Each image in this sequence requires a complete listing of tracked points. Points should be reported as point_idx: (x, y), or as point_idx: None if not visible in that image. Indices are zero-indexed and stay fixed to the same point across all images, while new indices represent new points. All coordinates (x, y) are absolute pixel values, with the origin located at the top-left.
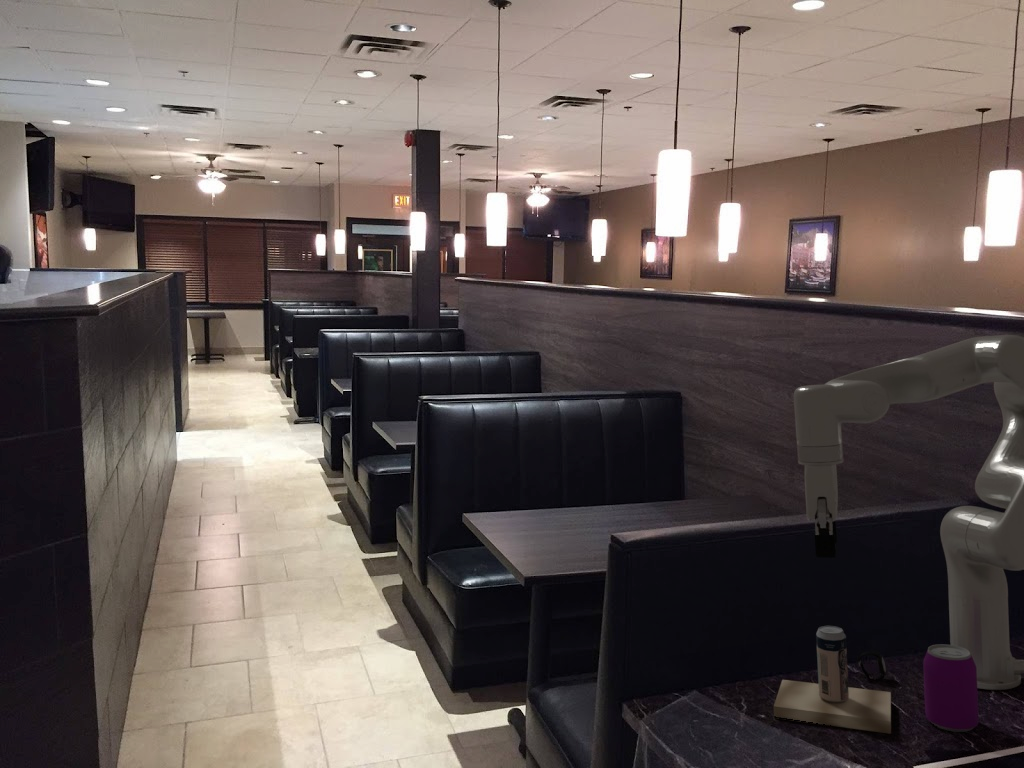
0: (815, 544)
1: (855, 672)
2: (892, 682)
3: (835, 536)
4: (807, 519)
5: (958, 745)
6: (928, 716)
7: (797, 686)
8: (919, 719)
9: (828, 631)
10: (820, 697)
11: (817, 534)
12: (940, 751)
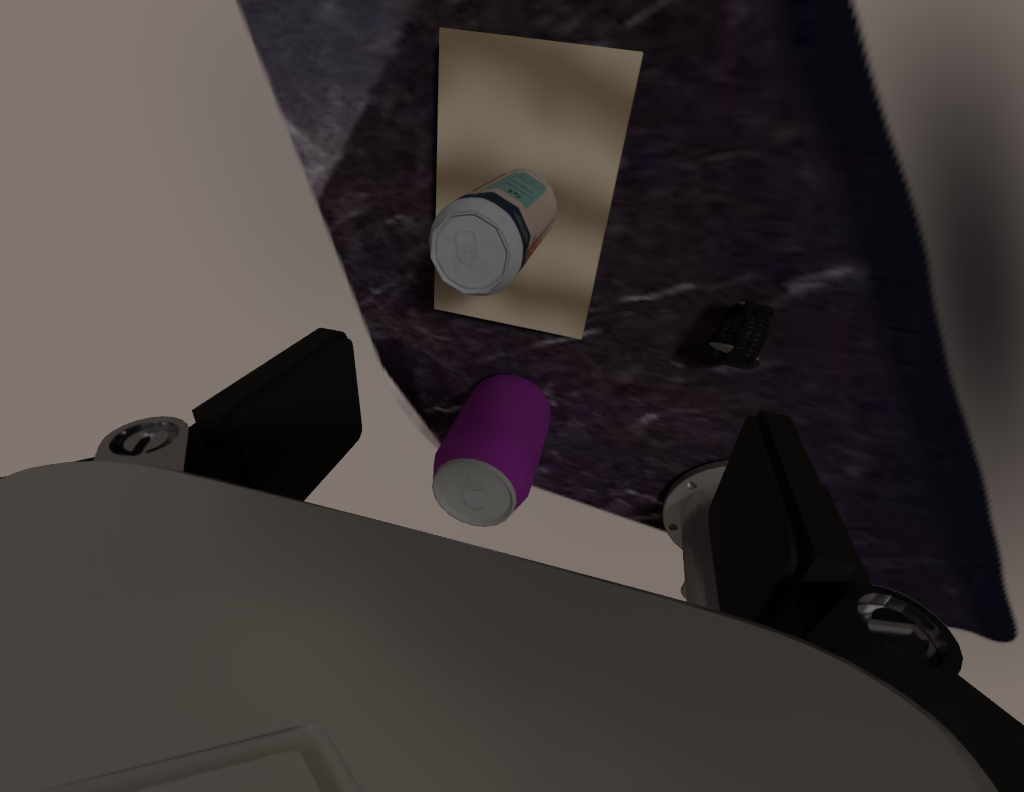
0: (261, 366)
1: (783, 284)
2: (708, 356)
3: (712, 554)
4: (65, 463)
5: (432, 391)
6: (494, 377)
7: (591, 106)
8: (517, 361)
9: (455, 245)
10: None
11: (150, 432)
12: (403, 361)
